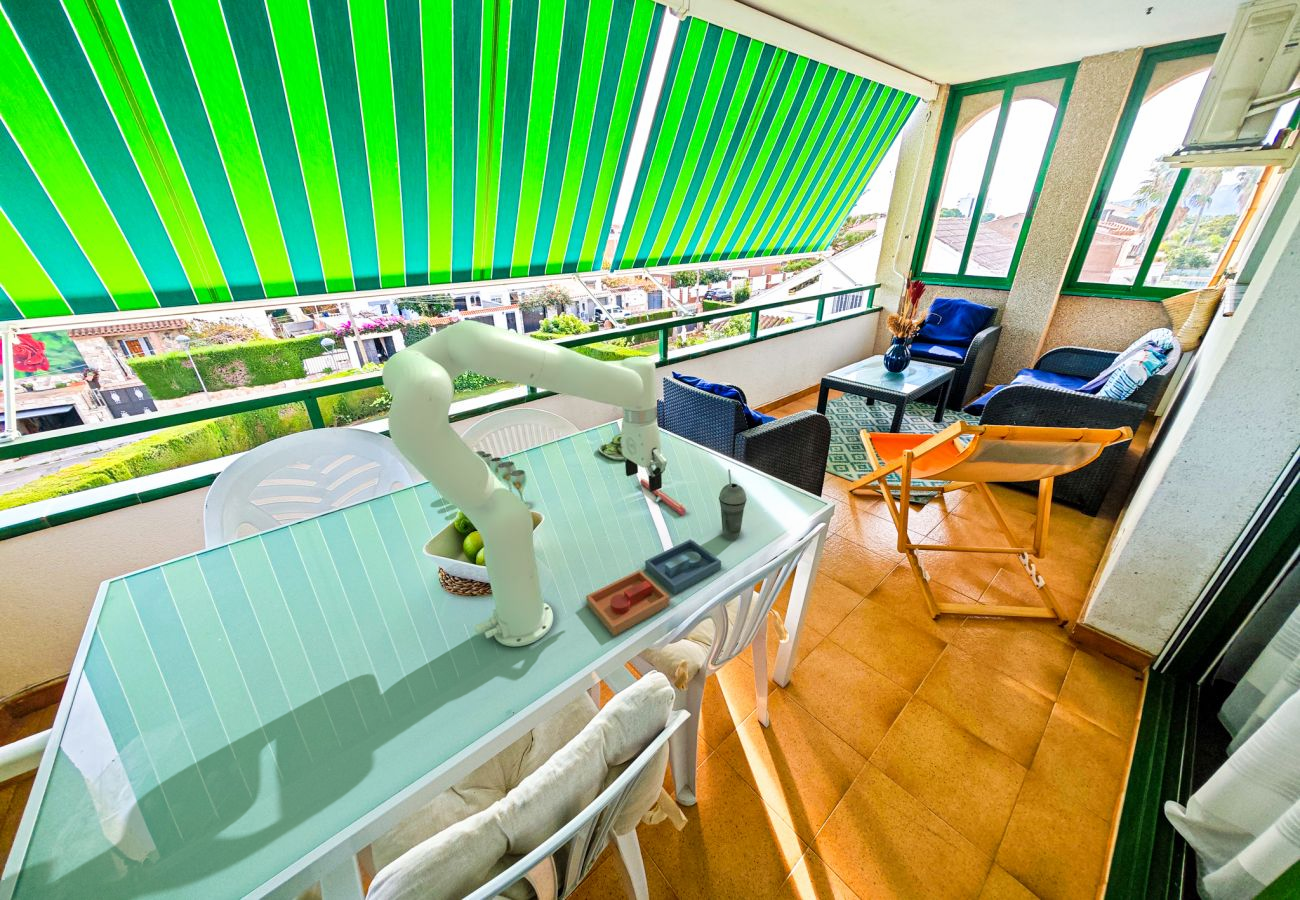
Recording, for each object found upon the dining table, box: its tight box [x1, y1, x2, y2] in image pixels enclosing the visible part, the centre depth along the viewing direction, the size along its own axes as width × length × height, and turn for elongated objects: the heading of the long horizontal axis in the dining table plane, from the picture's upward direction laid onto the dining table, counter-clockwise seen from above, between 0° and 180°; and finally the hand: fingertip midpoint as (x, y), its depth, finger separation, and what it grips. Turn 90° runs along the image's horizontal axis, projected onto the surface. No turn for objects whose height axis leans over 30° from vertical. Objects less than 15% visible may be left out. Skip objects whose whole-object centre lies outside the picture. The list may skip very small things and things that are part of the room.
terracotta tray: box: [585, 569, 670, 637], centre depth 102 cm, size 15×12×2 cm
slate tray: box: [644, 539, 722, 595], centre depth 113 cm, size 15×12×2 cm
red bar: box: [640, 477, 687, 516], centre depth 144 cm, size 24×2×5 cm
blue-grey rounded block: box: [665, 552, 701, 578], centre depth 112 cm, size 10×4×3 cm, turn 126°
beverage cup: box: [718, 468, 748, 541], centre depth 121 cm, size 7×7×20 cm
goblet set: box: [474, 450, 531, 510], centre depth 148 cm, size 28×6×13 cm, turn 49°
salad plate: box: [597, 433, 625, 461], centre depth 177 cm, size 19×18×5 cm
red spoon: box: [610, 581, 652, 614], centre depth 102 cm, size 10×4×3 cm, turn 126°
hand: (643, 481), depth 108 cm, fingers open, 9 cm apart
